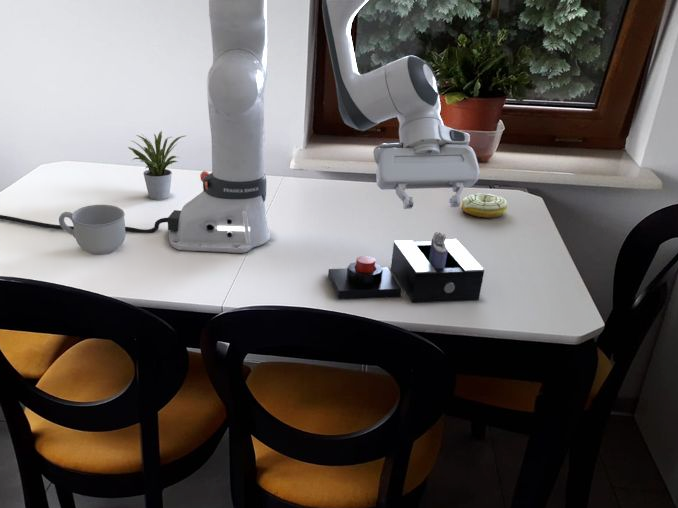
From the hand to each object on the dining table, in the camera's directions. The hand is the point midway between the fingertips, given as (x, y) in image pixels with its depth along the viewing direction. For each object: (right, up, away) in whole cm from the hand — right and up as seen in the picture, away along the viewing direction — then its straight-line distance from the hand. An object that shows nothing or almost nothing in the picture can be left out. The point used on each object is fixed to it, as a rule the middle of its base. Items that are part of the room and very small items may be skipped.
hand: (432, 206), depth 137 cm
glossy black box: (0, -15, +1) cm, 15 cm away
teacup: (-69, -6, +13) cm, 71 cm away
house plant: (-59, +12, +44) cm, 75 cm away
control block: (-13, -16, -1) cm, 21 cm away
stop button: (-13, -13, -2) cm, 19 cm away
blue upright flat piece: (0, -15, +1) cm, 15 cm away
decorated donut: (+21, +6, +38) cm, 44 cm away
